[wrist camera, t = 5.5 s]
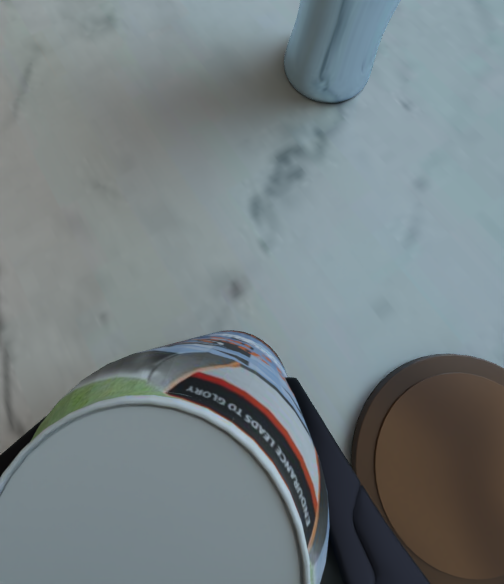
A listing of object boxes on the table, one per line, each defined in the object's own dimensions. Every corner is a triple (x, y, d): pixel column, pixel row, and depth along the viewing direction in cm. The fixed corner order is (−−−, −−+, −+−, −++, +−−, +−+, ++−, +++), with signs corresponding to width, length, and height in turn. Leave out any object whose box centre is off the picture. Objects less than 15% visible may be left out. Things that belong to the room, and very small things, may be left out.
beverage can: (303, 396, 16) (531, 565, 4) (195, 486, 15) (63, 1117, 3) (238, 307, 16) (271, 224, 5) (128, 386, 15) (-227, 559, 3)
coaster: (473, 647, 14) (484, 664, 13) (306, 461, 15) (309, 467, 14) (604, 467, 16) (620, 473, 15) (445, 311, 17) (453, 310, 16)
